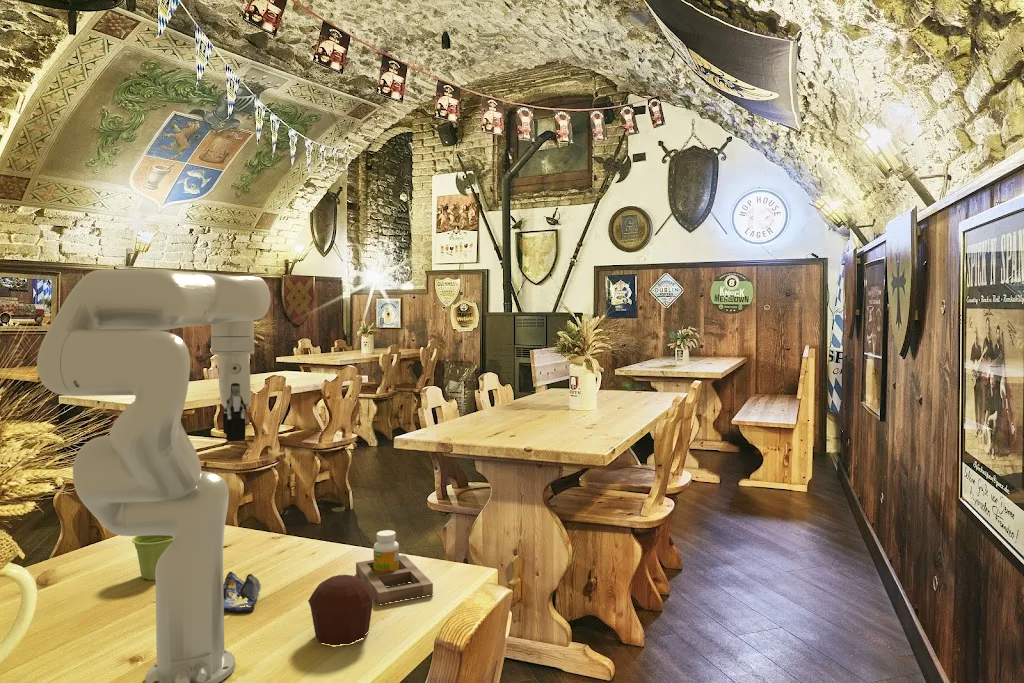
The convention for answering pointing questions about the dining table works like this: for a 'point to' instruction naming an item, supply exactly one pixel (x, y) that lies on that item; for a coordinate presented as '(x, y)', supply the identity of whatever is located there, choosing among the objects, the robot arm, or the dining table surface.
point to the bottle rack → (395, 581)
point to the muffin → (341, 609)
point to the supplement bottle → (386, 552)
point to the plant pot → (150, 552)
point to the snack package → (240, 592)
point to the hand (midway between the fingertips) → (234, 436)
